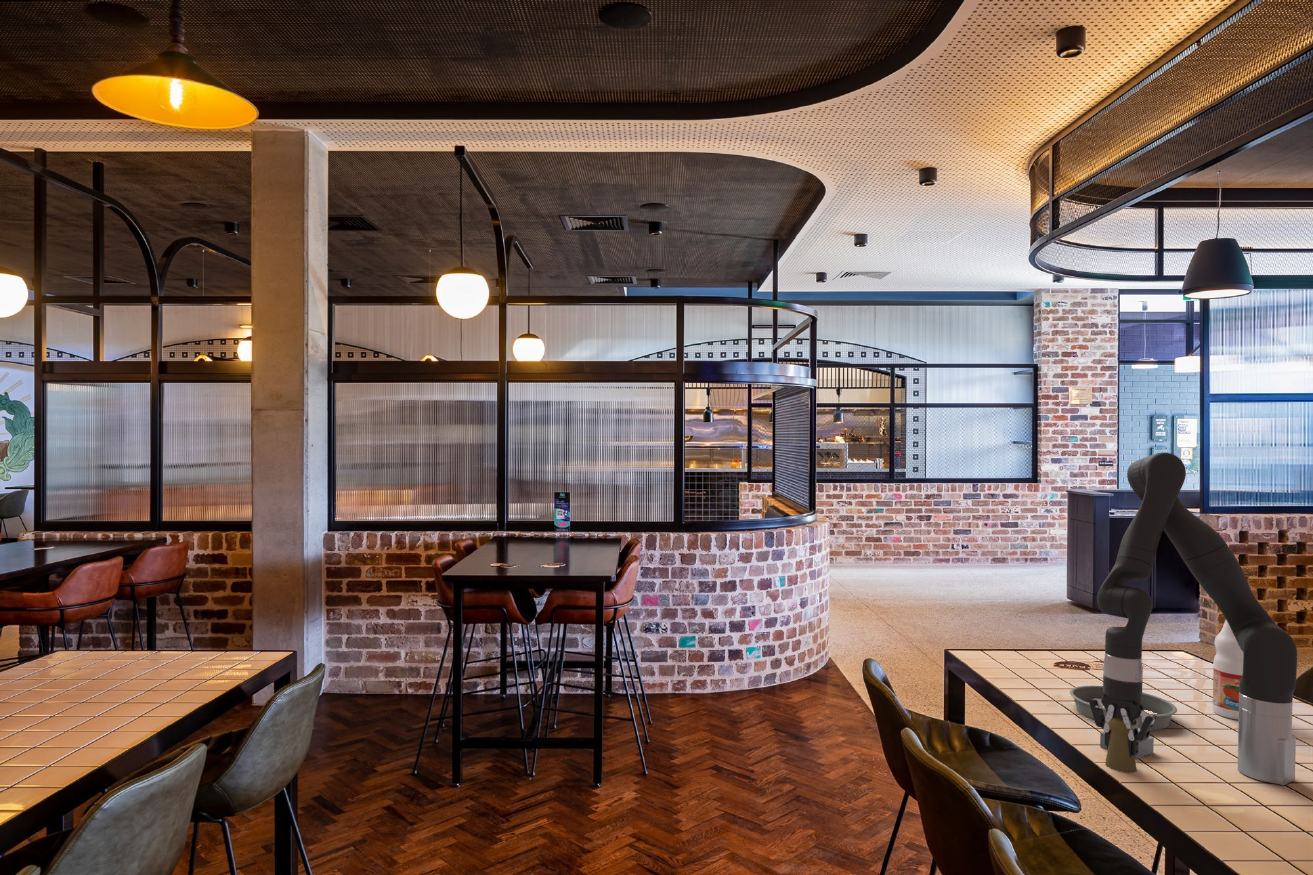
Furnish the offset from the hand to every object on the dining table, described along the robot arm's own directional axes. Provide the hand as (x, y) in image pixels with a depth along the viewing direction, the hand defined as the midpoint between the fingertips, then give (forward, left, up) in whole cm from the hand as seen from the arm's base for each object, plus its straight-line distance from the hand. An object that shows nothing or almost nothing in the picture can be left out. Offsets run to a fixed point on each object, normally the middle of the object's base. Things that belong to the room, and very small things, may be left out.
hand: (1121, 752), depth 171 cm
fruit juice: (+3, -64, -3) cm, 64 cm away
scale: (+4, -12, -3) cm, 13 cm away
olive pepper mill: (0, 0, -3) cm, 3 cm away
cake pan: (+18, -36, -4) cm, 40 cm away
